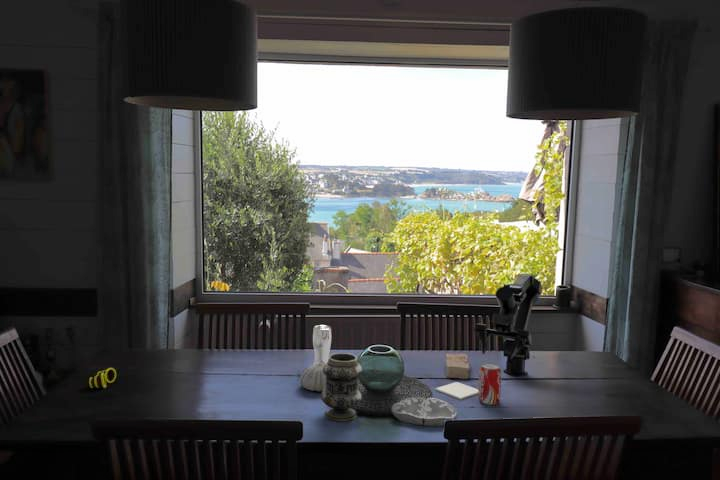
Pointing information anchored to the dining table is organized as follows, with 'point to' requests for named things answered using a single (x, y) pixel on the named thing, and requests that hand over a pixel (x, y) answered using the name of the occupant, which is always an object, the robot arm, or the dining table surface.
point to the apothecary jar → (341, 386)
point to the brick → (457, 366)
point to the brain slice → (424, 411)
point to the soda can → (489, 384)
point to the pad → (458, 390)
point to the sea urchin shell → (314, 378)
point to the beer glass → (321, 343)
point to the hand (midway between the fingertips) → (496, 356)
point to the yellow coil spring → (103, 378)
